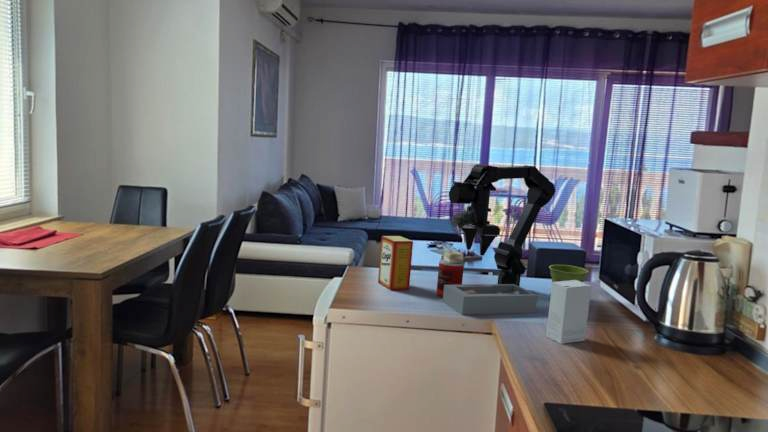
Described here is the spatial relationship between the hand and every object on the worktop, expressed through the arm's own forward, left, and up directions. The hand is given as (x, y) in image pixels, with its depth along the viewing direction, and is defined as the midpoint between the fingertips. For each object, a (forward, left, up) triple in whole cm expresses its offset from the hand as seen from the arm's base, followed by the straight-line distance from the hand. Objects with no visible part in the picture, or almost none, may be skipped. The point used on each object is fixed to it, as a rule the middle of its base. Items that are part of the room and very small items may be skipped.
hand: (475, 252), depth 195 cm
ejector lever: (+2, +17, -11) cm, 20 cm away
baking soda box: (+24, -8, -13) cm, 29 cm away
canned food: (+10, +4, -13) cm, 17 cm away
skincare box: (-3, +46, -13) cm, 48 cm away
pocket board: (+3, +17, -13) cm, 22 cm away
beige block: (+10, +4, -2) cm, 11 cm away
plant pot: (-25, +15, -13) cm, 32 cm away
